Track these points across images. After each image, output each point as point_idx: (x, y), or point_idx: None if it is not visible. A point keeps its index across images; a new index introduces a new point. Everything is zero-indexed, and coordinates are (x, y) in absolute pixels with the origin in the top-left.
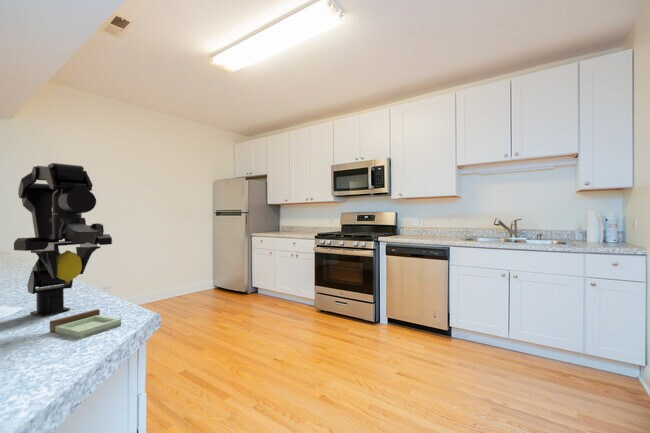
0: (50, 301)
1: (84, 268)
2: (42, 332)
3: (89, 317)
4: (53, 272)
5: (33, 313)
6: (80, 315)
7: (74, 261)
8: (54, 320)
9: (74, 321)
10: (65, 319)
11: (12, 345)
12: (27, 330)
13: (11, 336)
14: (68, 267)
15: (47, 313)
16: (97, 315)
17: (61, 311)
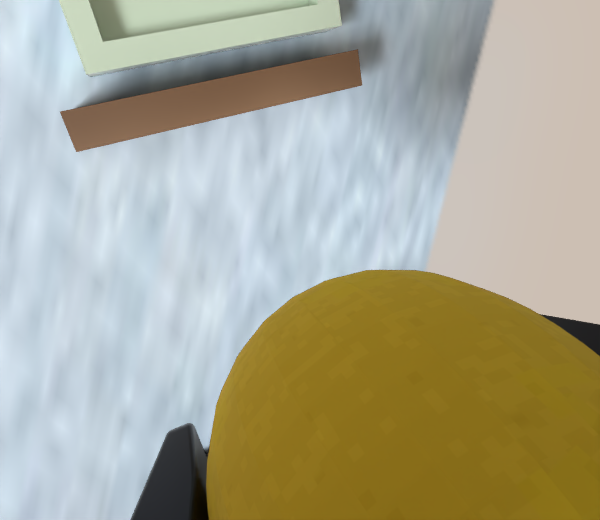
0: None
1: (149, 495)
2: (353, 120)
3: (148, 55)
4: (554, 320)
5: None
6: (202, 82)
7: (478, 403)
8: (344, 74)
9: (242, 40)
10: (291, 63)
11: (473, 9)
12: (377, 224)
13: (434, 176)
14: (485, 301)
15: None
16: (89, 62)
17: (207, 455)
